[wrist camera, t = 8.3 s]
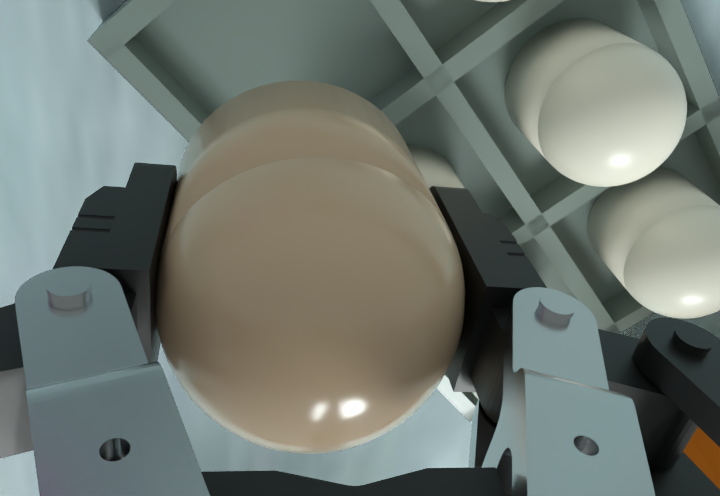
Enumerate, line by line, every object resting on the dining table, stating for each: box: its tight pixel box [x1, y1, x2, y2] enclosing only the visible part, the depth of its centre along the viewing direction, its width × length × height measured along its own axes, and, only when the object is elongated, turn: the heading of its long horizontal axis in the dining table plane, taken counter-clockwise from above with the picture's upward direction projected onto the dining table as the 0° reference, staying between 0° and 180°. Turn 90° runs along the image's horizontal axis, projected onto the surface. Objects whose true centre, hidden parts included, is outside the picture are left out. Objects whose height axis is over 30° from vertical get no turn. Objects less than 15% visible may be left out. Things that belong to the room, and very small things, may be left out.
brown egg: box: [156, 81, 466, 454], centre depth 11 cm, size 5×5×6 cm
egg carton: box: [87, 0, 720, 422], centre depth 24 cm, size 25×17×7 cm
